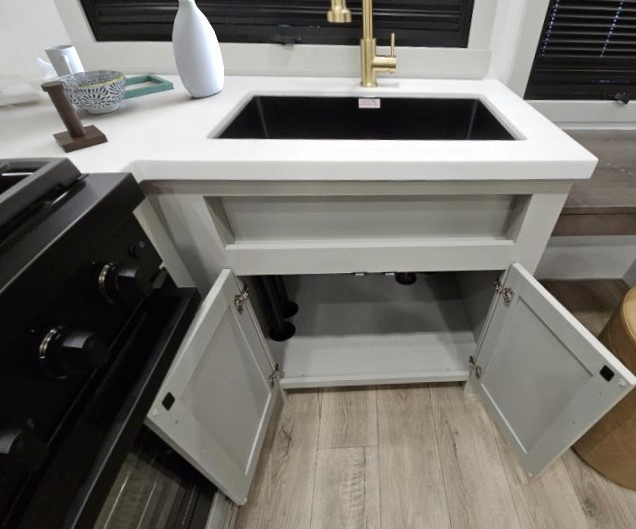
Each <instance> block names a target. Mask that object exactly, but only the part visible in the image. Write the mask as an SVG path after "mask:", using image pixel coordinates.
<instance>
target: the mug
mask: <svg viewBox="0 0 636 529" xmlns="http://www.w3.org/2000/svg"><path fill="white" fill-rule="evenodd" d="M43 49H44V52H45V54H46V56H47V58H48V60H49V63H51V64H52V65H53V67H54V69H55V71H56V73H57V75H58V77H62V76H65V75H69V74H73V73H78V72H84V71H85V69H84V66H83V64H82V61H81V59H80V57H79V54H78V52H77V50H76V48H75V46H74V45H72V44H59V45H52V46H46V47H44V48H43Z"/></svg>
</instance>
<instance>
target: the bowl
mask: <svg viewBox="0 0 636 529" xmlns="http://www.w3.org/2000/svg"><path fill="white" fill-rule="evenodd" d="M125 78H126V72H124V71H122V70H118V69H94V70H92V69H91V70H84V72H78V73H73V74H69V75H65V76H62V77H59V78H57V79H55V80H54V81H64V82H65V83H66V86H67V89H65V90H66V92H67V94H68V96H69V98H70V100H71V102H72V104H73V106H77V107H78V108H80V109H83V110H87V111H88V113H89V114H93V115H103V114H109V113H111V112H115V111H117V110H118V109H119V104H120V103H121V102H122V101H123V100H124V99H123V97H124V95H125V91H126V86H125Z"/></svg>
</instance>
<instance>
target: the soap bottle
mask: <svg viewBox="0 0 636 529" xmlns="http://www.w3.org/2000/svg"><path fill="white" fill-rule="evenodd" d="M171 38H172V39H171V40H172V48H173V55H174V61H175V66H176V69H177V72H178V76H179V78H180V81H181V83H182V86H183V88H184V89H185V90H186V91H187V92H188V94H189V95H190V96H191V97H192V98H196V99H200V98H201V99H202V98H206V97H209V96H213V95H215V94H218V93H220V92H221V91H222V89H223V85H224V80H225V75H224V74H225V73H224V63H223V57H222V53H221V49H220V45H219V41H218V39H217V35H216V34H215V31H214V29H213V27H212V25H211V24H210V22H209V20H208V18H207V17H206V16H205V15H204V13H202V11H201V10H200V9H199V7H198V6H197V5H196V2H195V0H178V10H177V13H176V15H175V18H174V22H173V27H172V35H171Z"/></svg>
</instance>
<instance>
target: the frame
mask: <svg viewBox="0 0 636 529" xmlns="http://www.w3.org/2000/svg"><path fill="white" fill-rule="evenodd" d="M146 82H152V83H154V84H151V85H147V86H141V87H136V88H131V89H125V95H124V97H123V99H122V100H126V99H130V98H136V97H140V96H144V95H145V94H146V95H150V94H154V93H155V94H156V93H160V92H165V91H169V90H174V89H175V87H174V83H173V82H172V81H170V80H167V79H165V78H162V77H160V76H157V75H156V74H153V73H148V74H142V75H137V76H136V75H135V76H131V77H125V87H126V86H132V85H136V84H141V83H146Z"/></svg>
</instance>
